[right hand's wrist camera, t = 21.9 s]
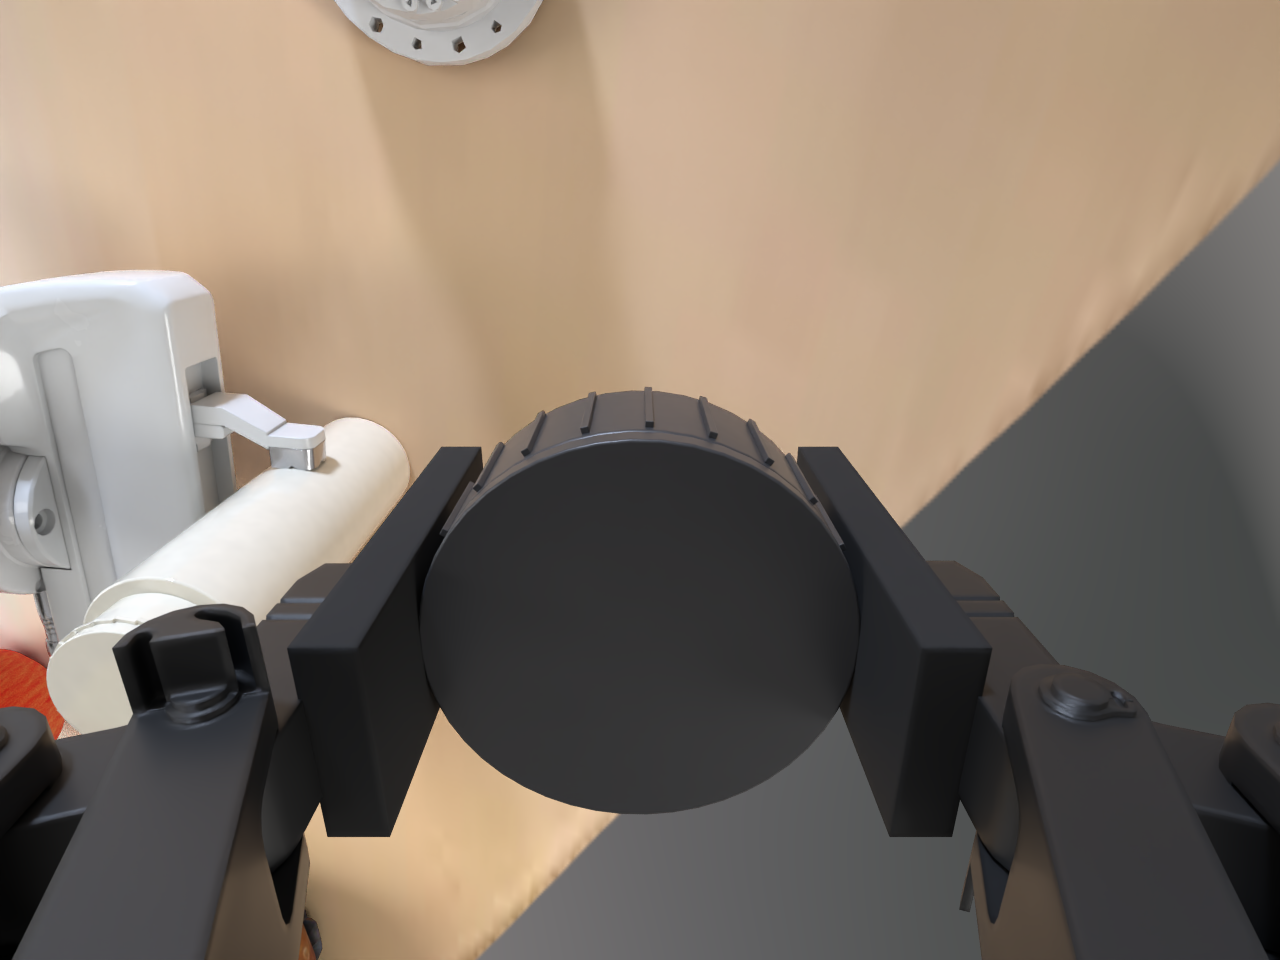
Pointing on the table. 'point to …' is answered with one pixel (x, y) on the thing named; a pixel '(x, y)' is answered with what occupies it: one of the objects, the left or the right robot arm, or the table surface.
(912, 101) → the table surface
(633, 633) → the lid
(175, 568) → the white bottle
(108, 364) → the left robot arm
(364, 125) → the table surface
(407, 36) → the mechanical component
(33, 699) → the apple
